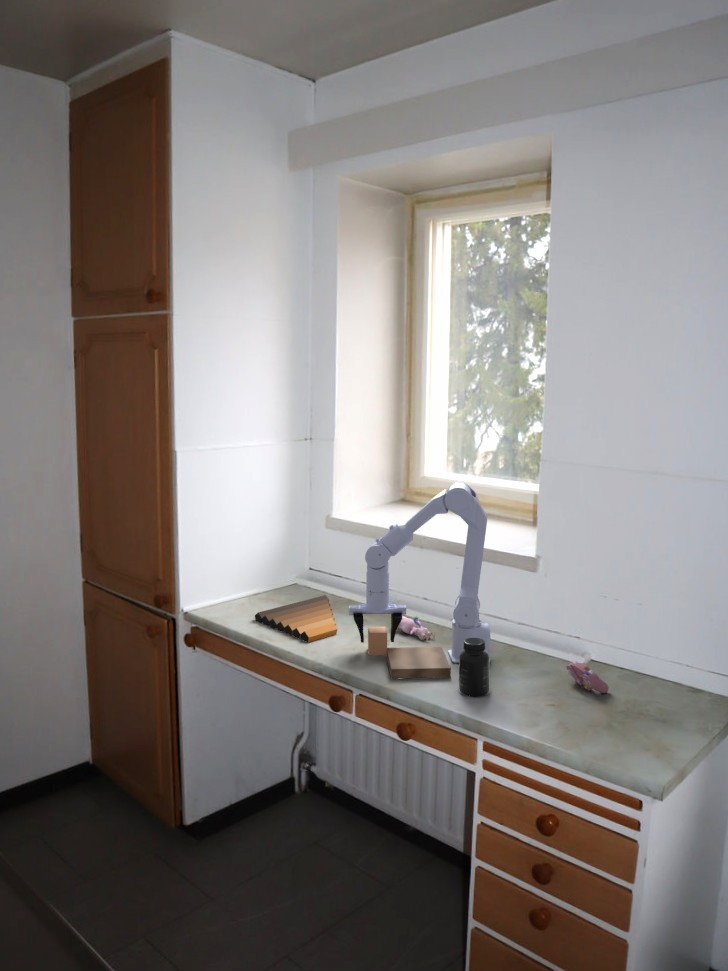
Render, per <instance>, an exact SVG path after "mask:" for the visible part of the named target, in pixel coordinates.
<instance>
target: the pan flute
mask: <svg viewBox="0 0 728 971" xmlns="http://www.w3.org/2000/svg"><path fill="white" fill-rule="evenodd" d="M332 610H333V608H332V607H331V603H330V599H329V598H328V596H327V595H326V594H324V595H320V596H316V597H313V598H309V599H305V600H302V601H297V602H293V603H290V604H286V605H282V606H277V607H273V608H270V609H266V610H262V611H258V612H257V613H256V614H254V619H255V622H256V623H257V622H258V623H260V624H263V625H265V626H266V627H270V628H272V629H275V630H277V631H279V632H281V633H285V634H286V635H289V636H291V637H292V636H293V637H294V638H295V639H298V638H299V639H298V640H302V641H303V640H304V641H303V642H305V641H307V642H306V643H310V641H311V642H315V641H317V639H318V640H320V638H321V639H324V637H325V638H327V636H328V637H331V636H334V634H335V635H337V632H338V627H337V626H336V625H337V623H336V622H335V617H334V613H333V611H332ZM330 635H331V636H330ZM314 640H315V641H314Z"/></svg>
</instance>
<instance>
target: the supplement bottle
mask: <svg viewBox="0 0 728 971" xmlns="http://www.w3.org/2000/svg"><path fill="white" fill-rule="evenodd" d="M463 649H464V651H462V652H461V653H460V655H459V663H458V690H459V692H460V693H461V694H462V695H463V696H466V697H469V698H470V697H471V698H477V697H478V698H480V697H484V696H486V695H488V693H489V692H490V666H491V665H490V662H491V657H490V658H489V655H488V653H487V652H486V651H485V641H484V640H483V639H480V638H467V639H465V640H464V646H463Z"/></svg>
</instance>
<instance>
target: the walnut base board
mask: <svg viewBox="0 0 728 971" xmlns="http://www.w3.org/2000/svg"><path fill="white" fill-rule="evenodd" d="M386 660H387V662H386V663H387V665H388V666H387V667H388V670H390V671H389V675H390V679H391V680H399V679H398V678H427V679H451V675H452V671H451V670H452V668H451V665H450V663H449V660H448V658H447V656H446V653H445V651H444V649H443V647H442V646H420V647H419V646H414V647H413V646H412V647H387V655H386Z"/></svg>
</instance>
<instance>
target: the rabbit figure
mask: <svg viewBox="0 0 728 971" xmlns="http://www.w3.org/2000/svg"><path fill="white" fill-rule="evenodd" d="M399 626H400V628H401V629H402V631H403V632H404V633H405V634H408V635H413V634H414V635H415V636H417V637H418V638H419V640H420V641H424V640H425V642H426V643H427V642H428V641H429V639H430V638H431V636H432V640H433V641H434V640H435V639H436V638H435V634H434V633H433V632H432V631H429V630H428V628H427V627H424V626H422V622H420V620H419V617H418V616H414V617H413V619H412V618H408V617H406V616H405V615H402V620H401V622H400V624H399Z"/></svg>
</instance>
